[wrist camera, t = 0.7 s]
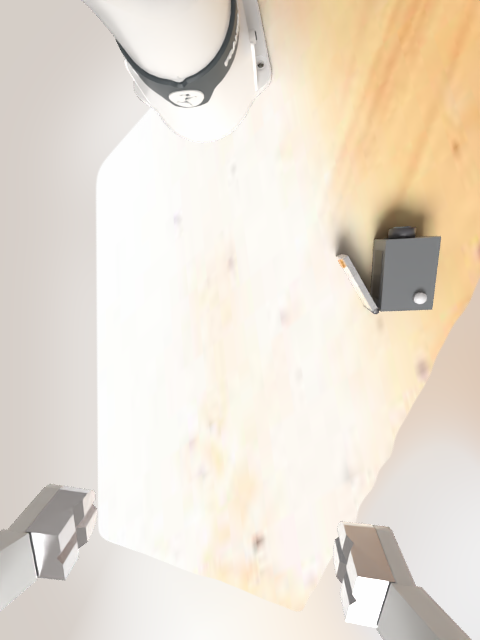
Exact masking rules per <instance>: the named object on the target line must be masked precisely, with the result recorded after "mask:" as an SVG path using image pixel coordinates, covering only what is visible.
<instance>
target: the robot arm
mask: <svg viewBox="0 0 480 640" xmlns="http://www.w3.org/2000/svg"><path fill="white" fill-rule="evenodd" d="M82 1H83V2H84V3H85V4H86V5H87V6H88V7H89V8H90V9H91V10H92V11H93V12H94V13H95V14H96V16H97V17H98V18H99V19H100V20H101V21H102V22H103V24H104V25H105V26H106V27H107V28H108V30H109V31H110V32H111V33H112V34H113V36H114V37H115V38H116V41H117V44H118V45H119V48H120V50H121V52H122V53H123V55H124V57H125V59H124V63H125V66H126V68H127V70H128V72H129V73H130V75H131V76H132V78H133V79H134V91H135V93H136V95H137V97H138V98H139V99H140V100H141V101H142V102H144V103H145V104H146V105H148V106H150V107H151V108H153V109H154V110H155V111H156V112H157V113H158V114H159V116H160V117H161V119H162V120H163V121H164V123H165V124H166V125H167V126H168V127H169V128H170V129H171V130H172V131H173V132H174V133H176V134H177V135H179V136H180V137H182V138H184V139H186V140H189V141H192V142H198V143H207V142H213V141H217V140H219V139H222V138H224V137H226V136H227V135H229V134H230V133H231V132H233V131H234V130H235V129H236V128H237V127H238V126H239V125H240V124H241V122H242V121H243V119H244V118H245V116H246V115H247V113H248V111H249V109H250V107H251V105H252V103H253V101H254V100H255V98H256V97H257V96H258V95H259V94H261V93H262V92H263V91H264V90H265V89H266V88H267V87H268V85H269V84H270V82H271V80H272V72H271V66H270V61H269V56H268V51H267V46H266V41H265V36H264V31H263V26H262V21H261V16H260V11H259V5H258V0H82ZM259 63H262V64H263V65H264V66H263V67H262V68H259V67H258V64H259ZM95 499H96V496H95V491H93V490H87V489H81V488H75V487H69V486H62V485H55V484H49V485H47V486H46V487H44V488H43V490H42V491H41V492H40V493H39V494H38V495H37V496H36V498H35V499H34V500H33V501H32V502H31V503H30V505H29V506H28V507H27V508H26V509H25V510H24V511H23V512H22V514H21V515H20V516H19V517H18V518H17V519H16V520H15V522H14V523H13V524H12V525H11V526H10V528H9V529H8V530H4V529H3V530H1V531H0V611H1V610H3V609H4V608H5V607H6V606H7V605H8V604H10V603H11V602H12V601H13V600H14V599H15V598H17V597H18V596H19V595H20V594H21V593H22V592H24V590H26V589H27V588H28V587H29V586H30V585H32V584H33V583H34V582H35V581H36V580H37V577H38V578H48V579H57V580H66V578H67V576H68V575H69V573H70V571H71V569H72V568H73V566H74V564H75V563H76V561H77V559H78V557H79V550H78V549H79V548H80V547H81V546H83V545H84V544H85V543H87V542H88V540H89V538H90V536H91V534H92V533H93V530H94V527H95V524H96V521H97V508H96V507H95V506H94V505H93V502H94V500H95ZM337 531H338V535H339V537H338V538H337V539H335V542H334V548H333V559H334V567H335V572H336V577H337V578H338V579H339V581H340V582H341V583H342V587H341V591H340V596H341V601H342V606H343V610H344V615H345V619H346V622H351V623H356V624H362V625H367V626H373V627H377V631H378V632H379V634H380V636H381V637H382V639H383V640H471V639H470V638H469V636H468V635H467V634H466V633H465V632H464V631H463V630H462V629H461V628H460V627H459V626H458V625H457V624H456V623H455V622H454V621H453V620H452V619H451V618H450V617H449V616H448V615H447V613H445V612H444V610H443V609H442V608H441V607H440V606H439V605H438V604H437V603H436V602H435V601H434V600H433V599H432V598H431V597H430V596H429V595H428V594H427V593H426V591H425V590H424V589H423V588H422V587H418V586H416V585H415V582H414V580H413V578H412V576H411V573H410V571H409V569H408V566H407V564H406V562H405V559H404V557H403V555H402V553H401V550H400V548H399V546H398V543H397V541H396V539H395V536H394V534H393V532H392V530H391V529H390V528H389V527H384V526H376V525H371V524H362V523H353V522H345V521H340V522H339V524H338V528H337Z"/></svg>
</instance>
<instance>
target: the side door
mask: <svg viewBox="0 0 480 640" xmlns="http://www.w3.org/2000/svg"><path fill="white" fill-rule="evenodd" d="M336 258H337V259H338V262H339V264H340V265H341V267H342V268H343V270H344V272H345V273H346V275H347V277H348V279H349V280H350V282H351V284H352V286H353V287H354V289H355V291H356V293H357V294H358V296H359V298H360V300H361V301H362V303H363V306H364V307H365V308H367V309H368V310H370V311H371V312H372V313H374V314H378V313H379V309H378V308H377V306H376V304H375V303H374V301H373V299H372V297H371V296H370V294H369V292H368V290H367V288H366V287H365V285H364V283H363V281H362V280H361V278H360V276H359V274H358V272H357V271H356V269H355V267H354V265H353V264H352V262H351V260H350V258H349V256H347V255H344V254H340V255H338V256H336Z"/></svg>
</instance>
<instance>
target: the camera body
mask: <svg viewBox="0 0 480 640" xmlns="http://www.w3.org/2000/svg"><path fill="white" fill-rule="evenodd" d="M415 236H416V227H411V226H407V227H393V228H392V229H389V231H388V238H387V239H374V247H373V263H372V279H371V297H372V299H373V301H374V303H375V304H376V306H377V308H378V309H379V310H380V311H405V310H431V309H432V307H433V299H434V290H435V282H436V274H437V266H438V258H439V250H440V241H441V236H420V237H415Z"/></svg>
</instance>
